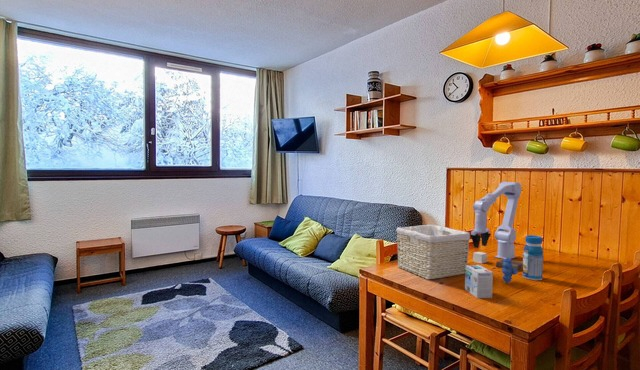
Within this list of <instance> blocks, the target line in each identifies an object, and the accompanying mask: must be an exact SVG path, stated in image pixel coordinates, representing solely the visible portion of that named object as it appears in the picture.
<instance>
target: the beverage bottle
mask: <svg viewBox="0 0 640 370" xmlns="http://www.w3.org/2000/svg"><path fill="white" fill-rule="evenodd" d="M525 243H526V244H525V245H524V247H523V248H522V249H523V253H522V262H523V269H522V277H523V278H524V279H527V280H531V281H541V280H542V279H543V278H544V277H543V274H544V273H543V272H544V271H543V269H544V255H543V254H544V249H543V246H542V244H543V237H542V236H539V235H533V234H531V235H530V234H526V235H525Z"/></svg>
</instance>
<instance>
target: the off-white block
mask: <svg viewBox="0 0 640 370" xmlns="http://www.w3.org/2000/svg"><path fill="white" fill-rule="evenodd" d="M472 254H473V255H472V262H473V261H474V262H473V263H478V264H485V263H487V262H488V253H487V252H482V251H475V252H473V253H472Z"/></svg>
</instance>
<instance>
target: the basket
mask: <svg viewBox="0 0 640 370" xmlns="http://www.w3.org/2000/svg"><path fill="white" fill-rule="evenodd" d="M395 231H396V233H397V234H396V237H397V238H396V239H397V267H398V269H402V270H405V271H407V272H408V273H410V272H411V273H412V274H414V275H416V276H419V277H422V279H425V280H436V279H443V278H447V277H453V276H455V277H456V276H461V275H465V268H466V265H468V263H469V261H468V260H469V259H468V258H469V248H470V247H469V245H470V238H471V237H470V234H471V232H469V231H464V230H458V229H453V228H450V227H447V226H441V225H437V224H432V223H431V224H426V225H425V224H423V225H421V224H420V225H414V226H411V225H410V226H406V227H404V226H403V227H400V226H399V227H397V228H396V230H395Z"/></svg>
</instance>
